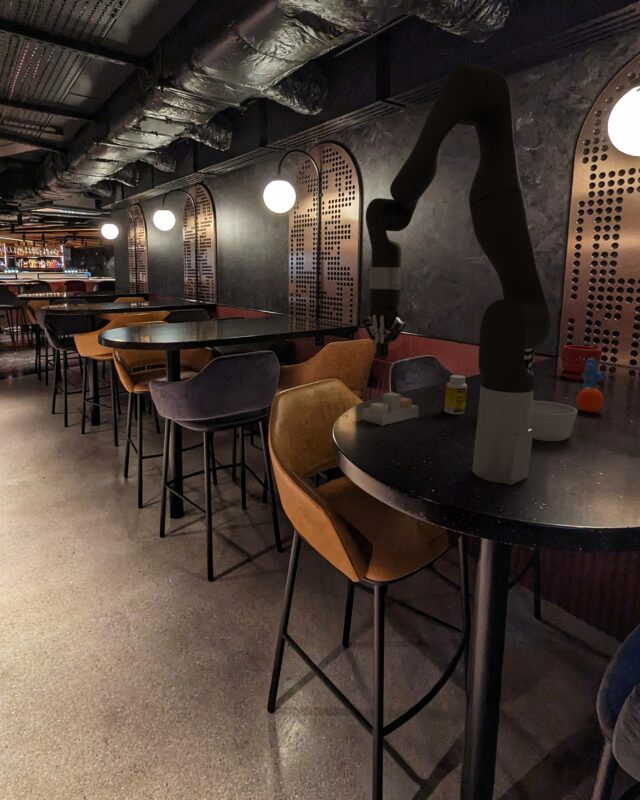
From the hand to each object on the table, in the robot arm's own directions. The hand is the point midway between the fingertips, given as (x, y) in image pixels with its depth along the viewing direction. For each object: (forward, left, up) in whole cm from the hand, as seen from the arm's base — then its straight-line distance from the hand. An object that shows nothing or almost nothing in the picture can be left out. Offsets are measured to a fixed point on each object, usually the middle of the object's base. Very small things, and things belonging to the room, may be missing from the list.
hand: (381, 357), depth 126 cm
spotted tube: (-15, -38, -17) cm, 44 cm away
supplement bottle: (-6, -24, -17) cm, 30 cm away
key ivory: (0, 0, -16) cm, 16 cm away
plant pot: (-5, -103, -17) cm, 104 cm away
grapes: (-19, -80, -17) cm, 84 cm away
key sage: (0, -5, -14) cm, 15 cm away
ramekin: (-31, -25, -17) cm, 43 cm away
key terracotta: (0, -9, -16) cm, 18 cm away
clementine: (-28, -56, -17) cm, 65 cm away
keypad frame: (0, -5, -17) cm, 17 cm away
